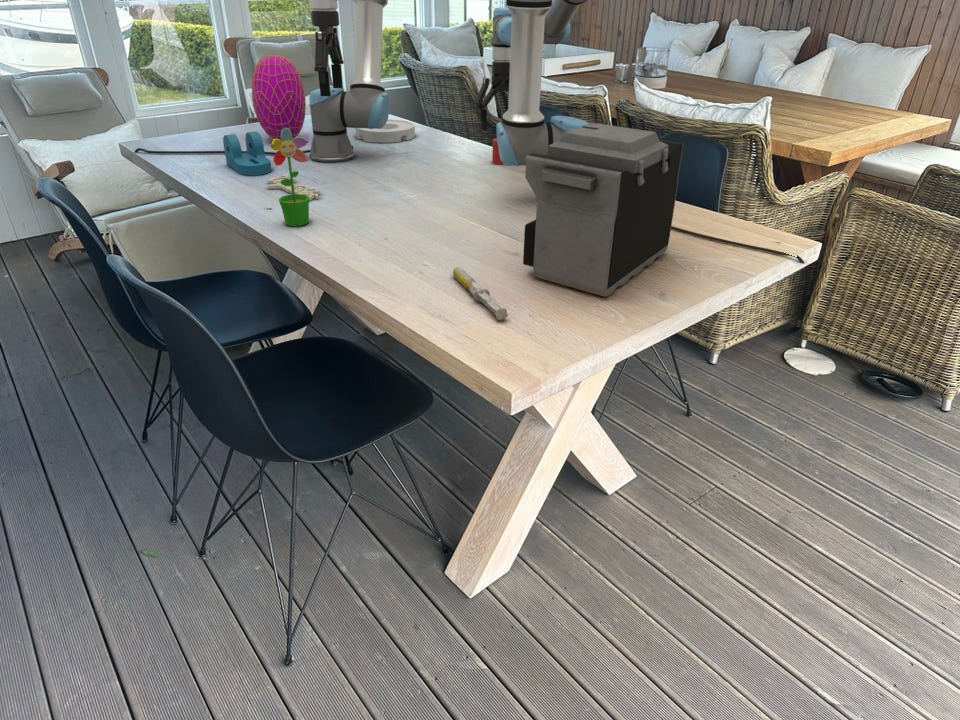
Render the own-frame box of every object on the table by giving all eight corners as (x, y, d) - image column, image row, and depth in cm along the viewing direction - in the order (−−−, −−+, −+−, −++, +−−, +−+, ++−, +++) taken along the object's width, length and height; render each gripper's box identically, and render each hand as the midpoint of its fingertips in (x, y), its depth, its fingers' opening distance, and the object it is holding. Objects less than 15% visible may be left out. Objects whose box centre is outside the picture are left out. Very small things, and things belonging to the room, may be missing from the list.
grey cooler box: (592, 232, 179) (603, 112, 164) (672, 251, 168) (693, 125, 153) (515, 277, 153) (520, 140, 138) (603, 303, 142) (620, 157, 127)
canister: (508, 160, 242) (509, 138, 238) (508, 165, 237) (508, 141, 233) (492, 160, 242) (493, 137, 238) (491, 164, 237) (492, 141, 233)
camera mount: (227, 164, 233) (221, 132, 227) (257, 160, 238) (252, 129, 233) (244, 176, 220) (239, 143, 215) (276, 172, 225) (271, 139, 220)
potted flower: (284, 229, 179) (270, 130, 166) (277, 220, 185) (263, 124, 172) (319, 224, 183) (308, 127, 170) (311, 215, 188) (300, 121, 176)
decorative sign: (256, 179, 214) (285, 174, 220) (256, 182, 215) (285, 177, 220) (297, 199, 197) (327, 193, 203) (297, 203, 198) (328, 196, 203)
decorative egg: (293, 132, 276) (283, 50, 261) (319, 140, 264) (310, 56, 249) (249, 139, 265) (236, 54, 250) (273, 148, 253) (261, 60, 238)
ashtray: (362, 128, 283) (361, 118, 281) (418, 129, 282) (417, 119, 280) (351, 142, 263) (350, 131, 261) (411, 143, 262) (411, 132, 260)
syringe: (449, 274, 155) (449, 263, 153) (465, 272, 156) (464, 260, 154) (490, 323, 135) (491, 310, 133) (508, 319, 136) (508, 307, 134)
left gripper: (325, 13, 178) (333, 99, 188) (348, 7, 199) (354, 85, 210) (297, 13, 178) (306, 99, 189) (323, 7, 199) (330, 84, 210)
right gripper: (532, 57, 230) (529, 123, 241) (463, 61, 221) (464, 128, 232) (543, 60, 224) (539, 127, 235) (473, 63, 215) (472, 133, 226)
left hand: (332, 92), depth 199 cm, fingers open, 13 cm apart
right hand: (502, 128), depth 233 cm, fingers open, 13 cm apart
